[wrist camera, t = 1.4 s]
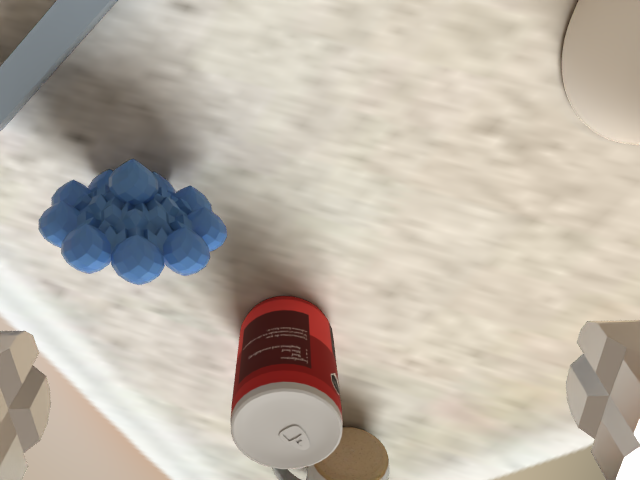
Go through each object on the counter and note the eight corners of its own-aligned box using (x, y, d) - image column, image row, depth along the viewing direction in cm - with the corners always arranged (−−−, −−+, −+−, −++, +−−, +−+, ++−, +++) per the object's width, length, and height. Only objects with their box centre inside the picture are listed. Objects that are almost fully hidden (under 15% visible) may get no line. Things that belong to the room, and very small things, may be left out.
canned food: (295, 380, 53) (298, 484, 43) (221, 337, 50) (206, 439, 41) (352, 324, 50) (367, 423, 41) (276, 276, 47) (274, 370, 38)
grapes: (238, 135, 42) (222, 212, 31) (233, 220, 45) (217, 316, 34) (65, 118, 40) (-12, 192, 30) (73, 207, 44) (6, 302, 33)
